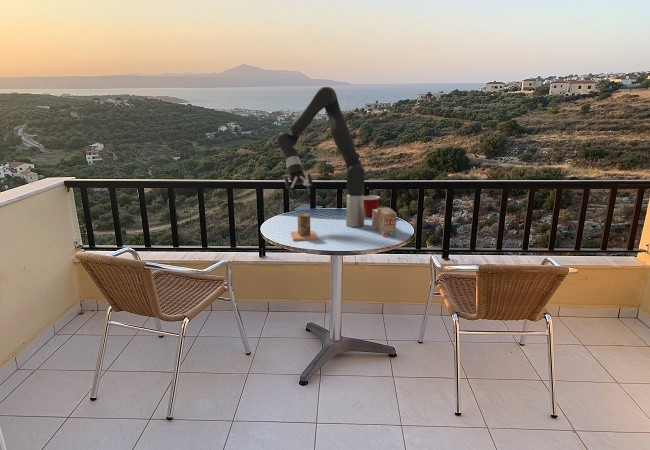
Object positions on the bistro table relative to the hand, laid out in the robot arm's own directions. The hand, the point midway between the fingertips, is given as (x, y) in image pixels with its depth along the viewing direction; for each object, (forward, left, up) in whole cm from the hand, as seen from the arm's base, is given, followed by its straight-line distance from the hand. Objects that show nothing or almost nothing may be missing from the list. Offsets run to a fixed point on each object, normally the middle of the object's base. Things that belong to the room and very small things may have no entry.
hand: (302, 194), depth 207 cm
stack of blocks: (-41, +10, -19) cm, 47 cm away
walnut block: (+1, +14, -17) cm, 22 cm away
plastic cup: (-43, -21, -19) cm, 51 cm away
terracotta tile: (+1, +14, -19) cm, 23 cm away
